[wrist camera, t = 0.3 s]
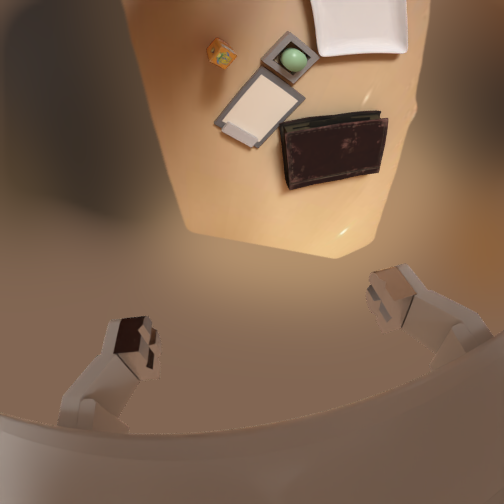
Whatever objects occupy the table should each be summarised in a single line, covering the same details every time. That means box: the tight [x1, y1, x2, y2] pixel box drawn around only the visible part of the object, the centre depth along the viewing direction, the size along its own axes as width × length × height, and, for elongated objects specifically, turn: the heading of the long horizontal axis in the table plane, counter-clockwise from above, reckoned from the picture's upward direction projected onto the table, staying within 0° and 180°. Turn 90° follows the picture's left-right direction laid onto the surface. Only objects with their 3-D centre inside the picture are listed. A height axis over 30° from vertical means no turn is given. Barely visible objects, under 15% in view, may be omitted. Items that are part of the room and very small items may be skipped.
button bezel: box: [261, 31, 320, 84], centre depth 43 cm, size 8×8×2 cm
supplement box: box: [206, 38, 237, 69], centre depth 38 cm, size 3×3×10 cm
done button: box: [280, 48, 307, 72], centre depth 42 cm, size 4×4×3 cm
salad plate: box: [310, 0, 408, 57], centre depth 34 cm, size 21×21×3 cm
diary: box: [279, 111, 388, 190], centre depth 61 cm, size 19×25×5 cm
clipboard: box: [214, 65, 306, 148], centre depth 53 cm, size 16×12×2 cm
